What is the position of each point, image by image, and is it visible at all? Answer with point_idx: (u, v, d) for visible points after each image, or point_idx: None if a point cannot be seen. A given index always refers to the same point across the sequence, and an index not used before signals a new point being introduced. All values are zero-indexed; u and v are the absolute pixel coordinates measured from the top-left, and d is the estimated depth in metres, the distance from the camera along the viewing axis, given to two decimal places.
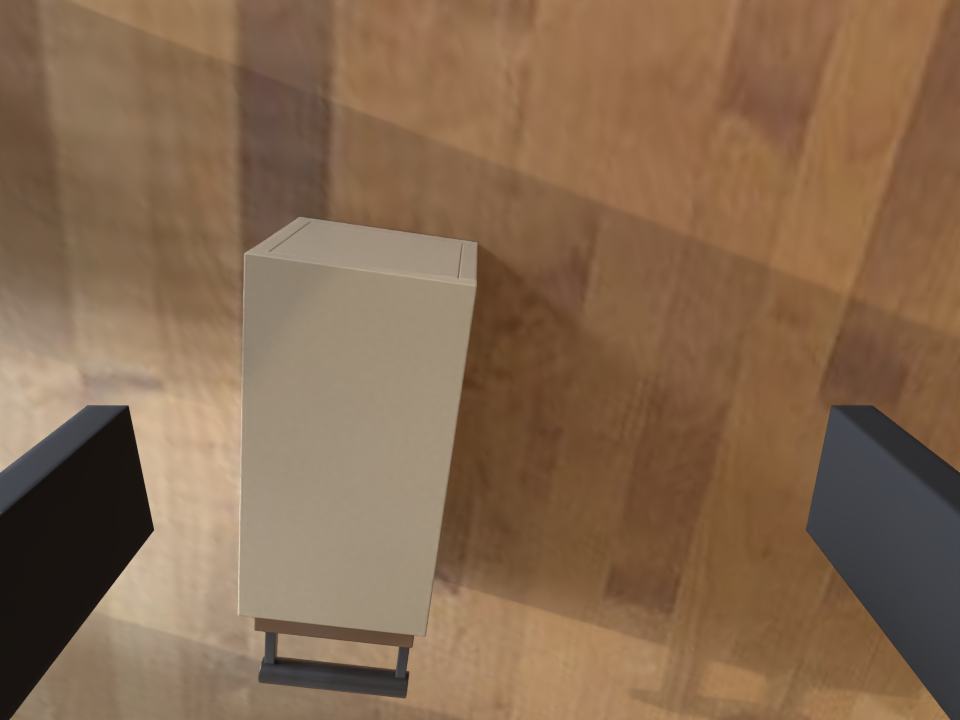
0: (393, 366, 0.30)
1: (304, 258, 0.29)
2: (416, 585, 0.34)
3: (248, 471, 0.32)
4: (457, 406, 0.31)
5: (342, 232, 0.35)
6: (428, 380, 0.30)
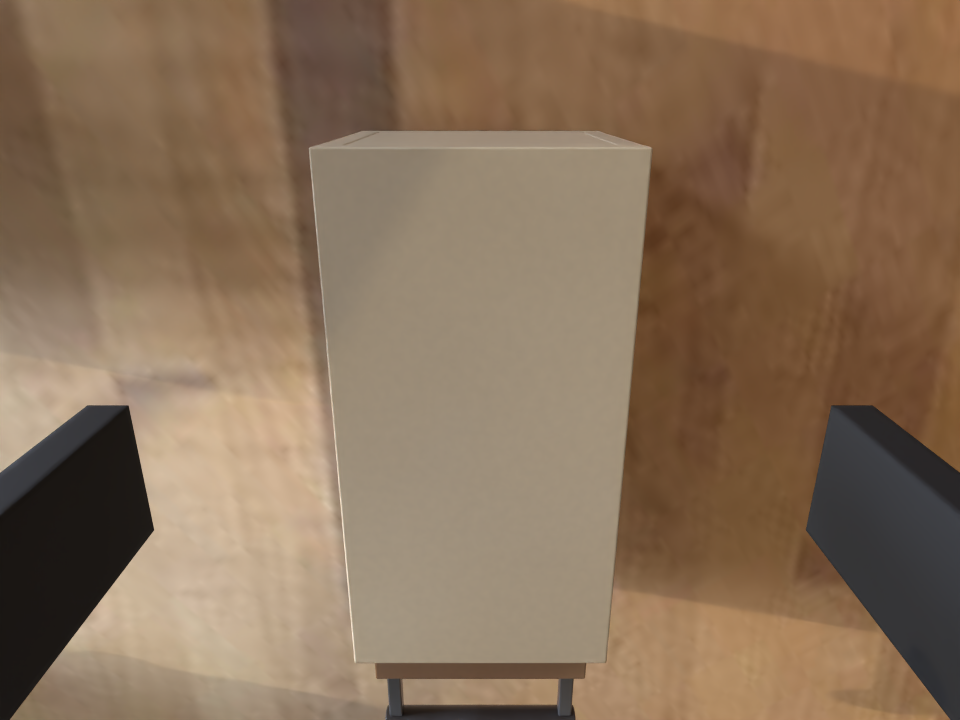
0: (536, 289, 0.21)
1: (394, 145, 0.20)
2: (589, 596, 0.25)
3: (348, 467, 0.23)
4: (633, 336, 0.21)
5: (425, 134, 0.26)
6: (589, 303, 0.21)
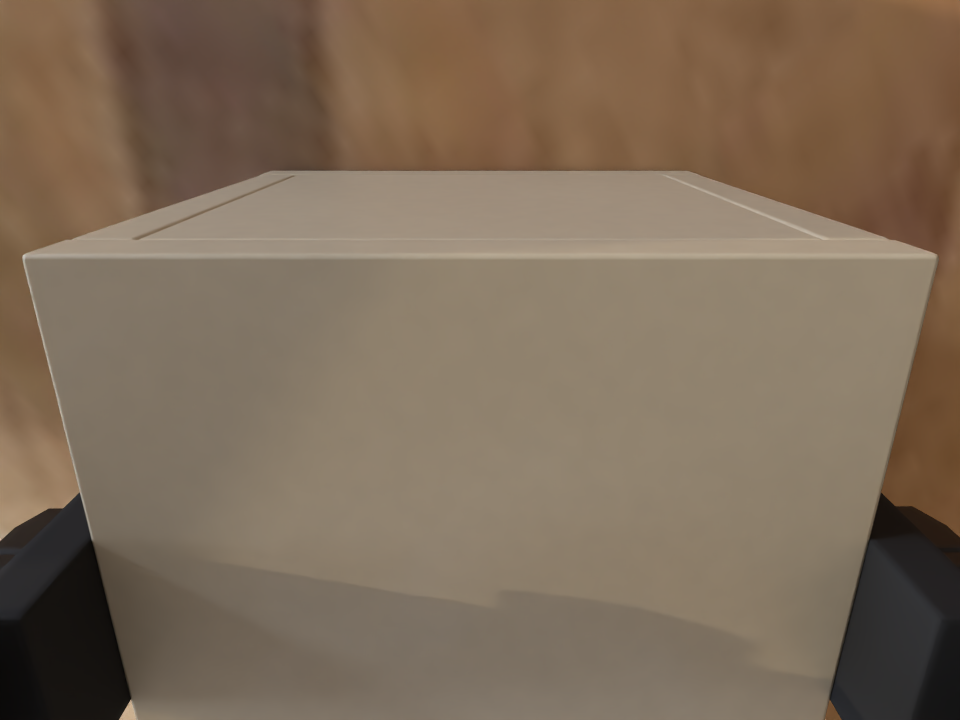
0: (615, 576, 0.09)
1: (258, 243, 0.08)
2: None
3: None
4: (832, 667, 0.09)
5: (375, 182, 0.13)
6: (737, 603, 0.09)
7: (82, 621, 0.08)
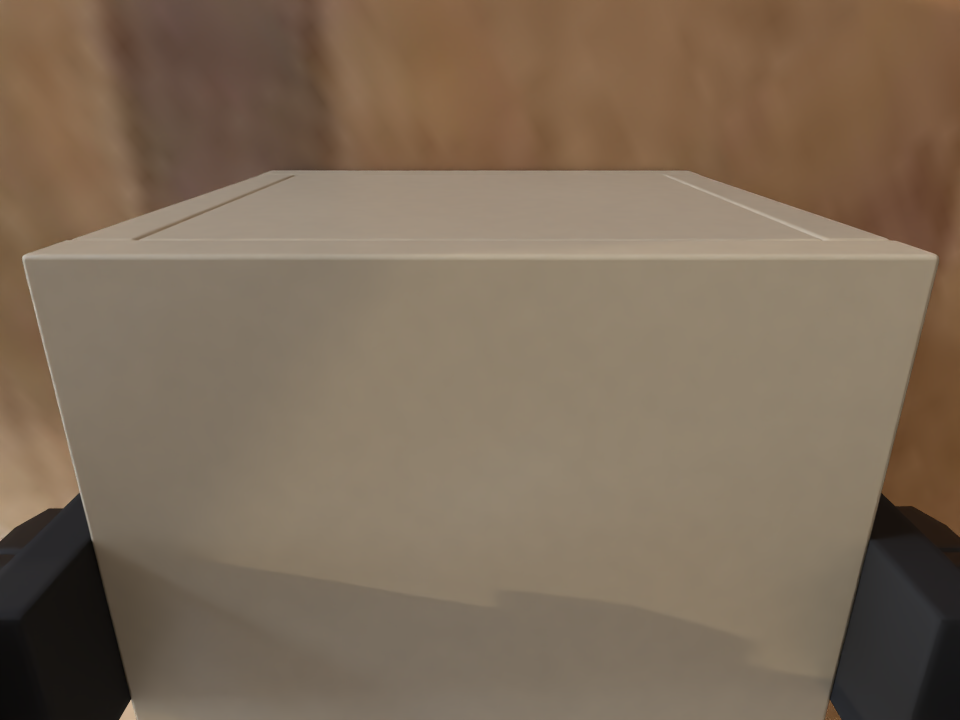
0: (615, 577, 0.09)
1: (257, 244, 0.08)
2: None
3: None
4: (832, 667, 0.09)
5: (375, 182, 0.13)
6: (737, 604, 0.09)
7: (82, 621, 0.08)
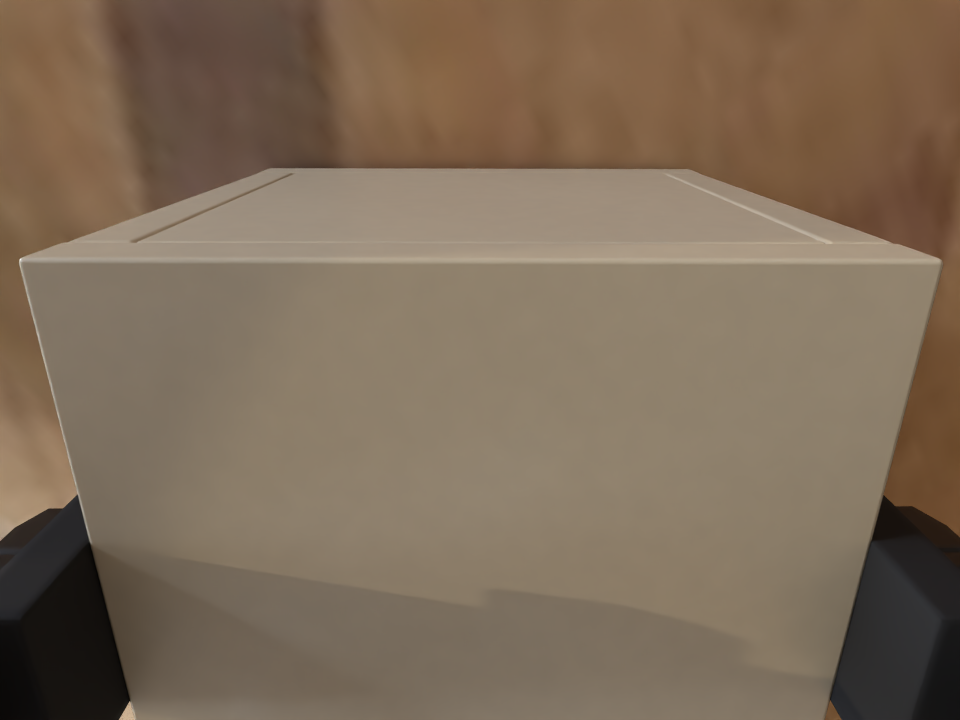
0: (616, 581, 0.09)
1: (257, 247, 0.08)
2: None
3: None
4: (832, 670, 0.09)
5: (374, 181, 0.13)
6: (738, 607, 0.09)
7: (81, 621, 0.08)
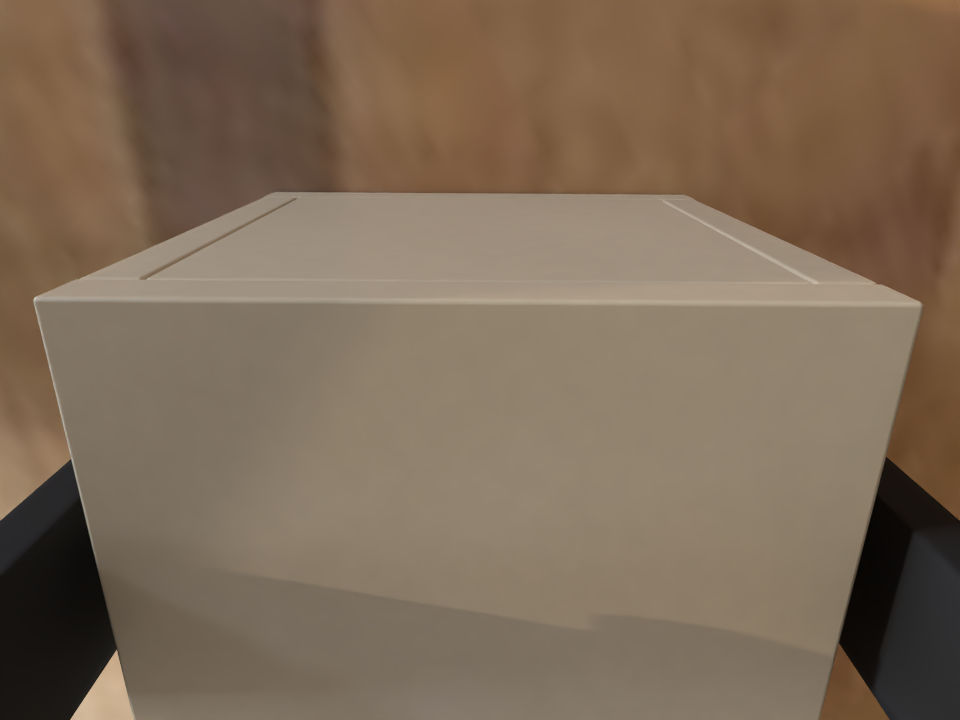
0: (608, 607, 0.09)
1: (262, 286, 0.08)
2: None
3: None
4: (820, 696, 0.09)
5: (376, 207, 0.14)
6: (727, 634, 0.09)
7: (6, 646, 0.08)
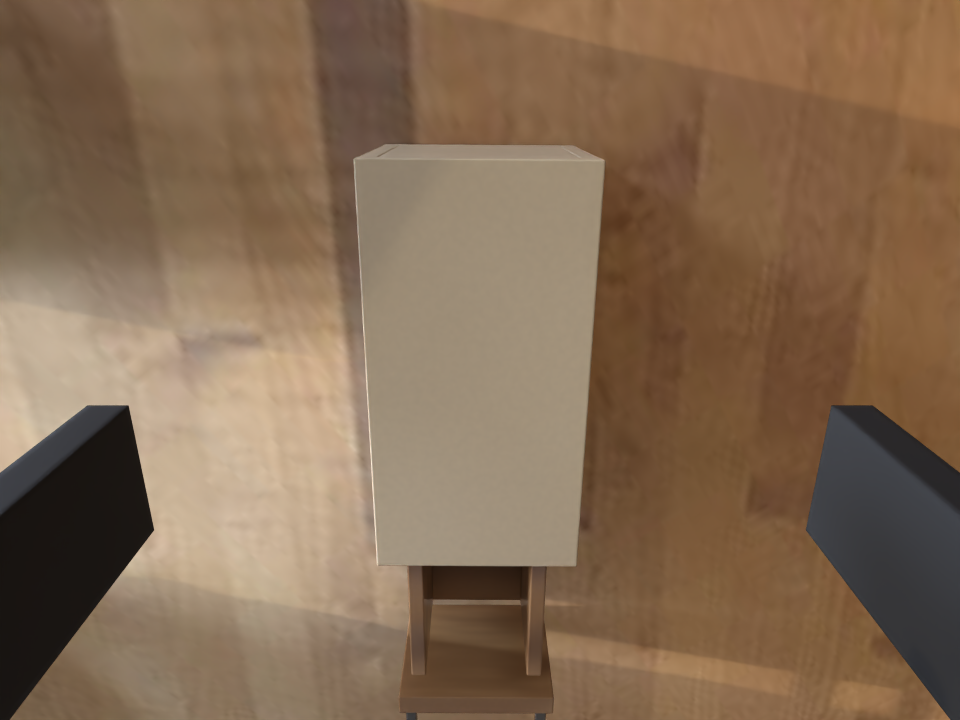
0: (521, 265, 0.28)
1: (415, 157, 0.27)
2: (563, 510, 0.32)
3: (376, 403, 0.30)
4: (593, 301, 0.28)
5: (436, 147, 0.33)
6: (560, 275, 0.28)
7: None
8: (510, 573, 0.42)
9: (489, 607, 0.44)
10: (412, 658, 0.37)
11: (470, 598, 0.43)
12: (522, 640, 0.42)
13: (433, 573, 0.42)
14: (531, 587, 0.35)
